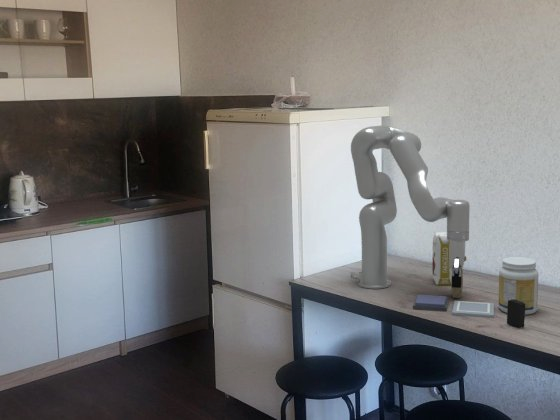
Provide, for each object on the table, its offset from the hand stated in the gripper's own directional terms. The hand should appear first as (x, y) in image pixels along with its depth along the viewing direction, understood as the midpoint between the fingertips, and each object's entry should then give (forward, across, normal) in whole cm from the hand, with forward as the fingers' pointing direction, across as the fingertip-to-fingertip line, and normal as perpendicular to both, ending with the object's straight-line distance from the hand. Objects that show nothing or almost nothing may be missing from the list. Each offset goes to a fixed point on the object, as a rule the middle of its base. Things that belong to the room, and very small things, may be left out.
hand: (457, 283), depth 237 cm
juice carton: (+5, -18, -6) cm, 20 cm away
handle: (+5, 0, 0) cm, 5 cm away
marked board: (+5, +13, +6) cm, 15 cm away
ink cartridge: (+5, +26, +19) cm, 33 cm away
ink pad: (+5, +11, -8) cm, 15 cm away
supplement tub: (+5, +10, +20) cm, 23 cm away
